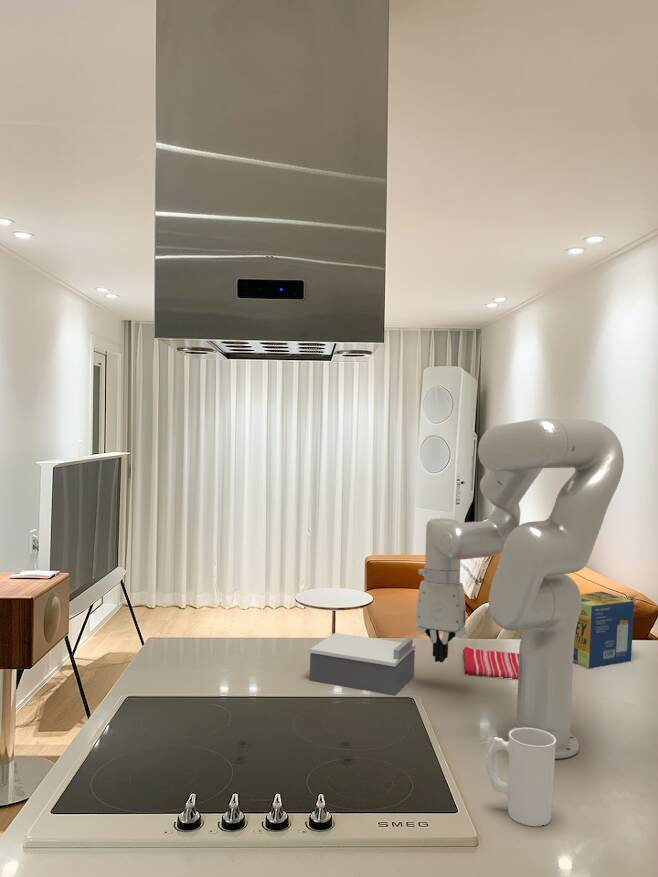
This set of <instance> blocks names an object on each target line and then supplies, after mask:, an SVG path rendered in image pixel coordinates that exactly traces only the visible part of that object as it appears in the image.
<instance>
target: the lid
mask: <svg viewBox="0 0 658 877" xmlns="http://www.w3.org/2000/svg"><path fill="white" fill-rule="evenodd" d="M415 649H416V644H413V638H411V637H407V638H405V639H404V640H403V641H401V642H400V641H393V640H385V639H381V638H380V639H379V638H373V637H367V636H361V635H359V636H358V635H352V634H346V633H342V632H334V633H333V634H331V635H328V637H326V638H324V639H323V640H322V641H320V642H318V643H317V644H315V645H314V646H312V647H310V648H309V653H314V654H320V655H327V656H333V657H339V658H345V659H351V660H357V661H363V662H370V663H376V664H382V665H388V666H394V667H395V666H396V665H397V664H399V663H400V662H401V661H402V660H403V659H404V658H405V657H406V656H407V655H408V654H409V653H411V652H412V651H413V650H415Z"/></svg>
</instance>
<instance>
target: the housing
mask: <svg viewBox="0 0 658 877" xmlns="http://www.w3.org/2000/svg"><path fill="white" fill-rule="evenodd" d="M309 653H310V652H309ZM415 653H416V650H415V649H414V650H413V651H412V652H411V653H409V654H408V655H407V656H406V657H405V658H404V659H403V660H402V661H401V662H400V663H399V664H397V665H396V666H395V667H394V666H388V665H382V664H376V663H370V662H363V661H357V660H351V659H345V658H339V657H333V656H327V655H320V654H314V653H310V654H309V656H310V657H309V658H310V659H309V681H312V682H317V683H322V684H329V685H334V686H335V685H336V686H340V687H345V688H352V689H356V690H362V691H369V692H374V693H379V694H384V695H388V696H389V695H390V696H391V695H392V696H396V695H397V694H398V693H399V692H400V691H401V690H402V689H403V688H404V686H406V685H407V684H408V683H409V681H410V680H412V678H413V677H414V676H415V661H416V660H415V658H416V656H415V655H416V654H415Z"/></svg>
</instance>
